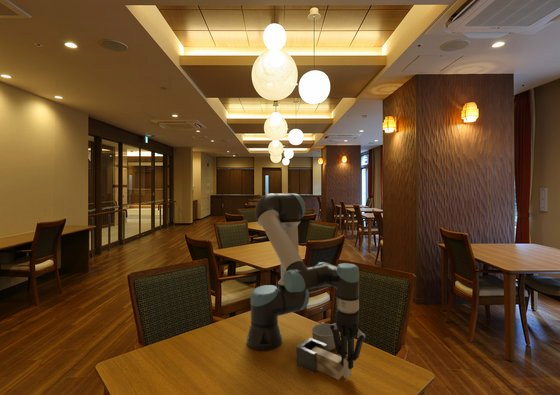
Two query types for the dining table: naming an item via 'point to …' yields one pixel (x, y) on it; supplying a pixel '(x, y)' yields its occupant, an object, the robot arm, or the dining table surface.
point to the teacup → (324, 335)
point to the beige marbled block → (329, 363)
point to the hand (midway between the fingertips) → (347, 376)
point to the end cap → (308, 354)
